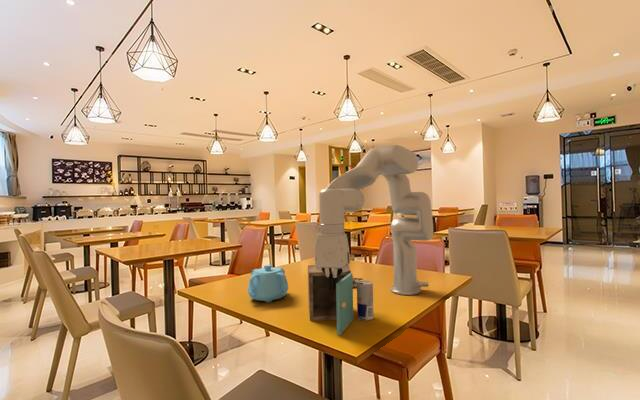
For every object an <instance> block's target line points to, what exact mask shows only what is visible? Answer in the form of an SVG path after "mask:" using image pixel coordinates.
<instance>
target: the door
mask: <svg viewBox="0 0 640 400" xmlns="http://www.w3.org/2000/svg"><path fill="white" fill-rule="evenodd" d="M353 277H354V275H353V273H352V272H351V273H349V274H348V275H347V276H345V277H344V278H343V279H341V280H340V281H339V282H338V283H336V306H337V319H336V335H338V336H341V335H342V333H343V332H344V331H345V330H346V328H347V327H348V326H349V325H350V324H351V323H352V321H353V320H354V293H353V291H354V290H353V289H354V288H353Z"/></svg>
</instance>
